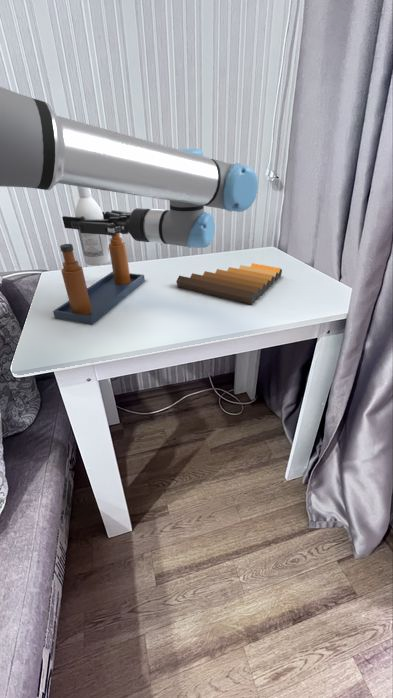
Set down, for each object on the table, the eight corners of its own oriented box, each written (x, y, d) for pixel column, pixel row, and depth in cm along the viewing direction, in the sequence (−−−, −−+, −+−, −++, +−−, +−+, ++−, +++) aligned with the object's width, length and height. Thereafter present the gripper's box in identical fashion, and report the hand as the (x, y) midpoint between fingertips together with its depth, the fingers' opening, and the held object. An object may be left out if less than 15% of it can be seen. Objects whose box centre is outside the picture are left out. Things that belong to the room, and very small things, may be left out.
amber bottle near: (75, 318, 83) (57, 249, 73) (70, 311, 87) (52, 244, 77) (94, 313, 85) (79, 246, 75) (88, 306, 89) (74, 241, 79)
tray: (92, 324, 82) (90, 317, 81) (54, 318, 85) (52, 311, 84) (144, 280, 105) (144, 274, 104) (113, 277, 108) (112, 271, 107)
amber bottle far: (118, 286, 101) (108, 226, 91) (112, 281, 104) (102, 223, 94) (132, 282, 103) (125, 224, 93) (127, 277, 106) (119, 221, 96)
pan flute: (176, 287, 100) (250, 305, 89) (176, 277, 98) (251, 294, 87) (215, 263, 118) (281, 276, 107) (215, 254, 116) (282, 266, 105)
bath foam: (97, 256, 93) (82, 178, 82) (116, 259, 90) (103, 179, 79) (79, 264, 88) (61, 182, 77) (99, 267, 85) (82, 183, 74)
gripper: (129, 254, 71) (50, 243, 79) (170, 231, 87) (100, 225, 94) (124, 218, 67) (41, 211, 75) (168, 201, 82) (96, 197, 90)
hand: (74, 218), depth 85 cm, fingers closed on bath foam, 7 cm apart
